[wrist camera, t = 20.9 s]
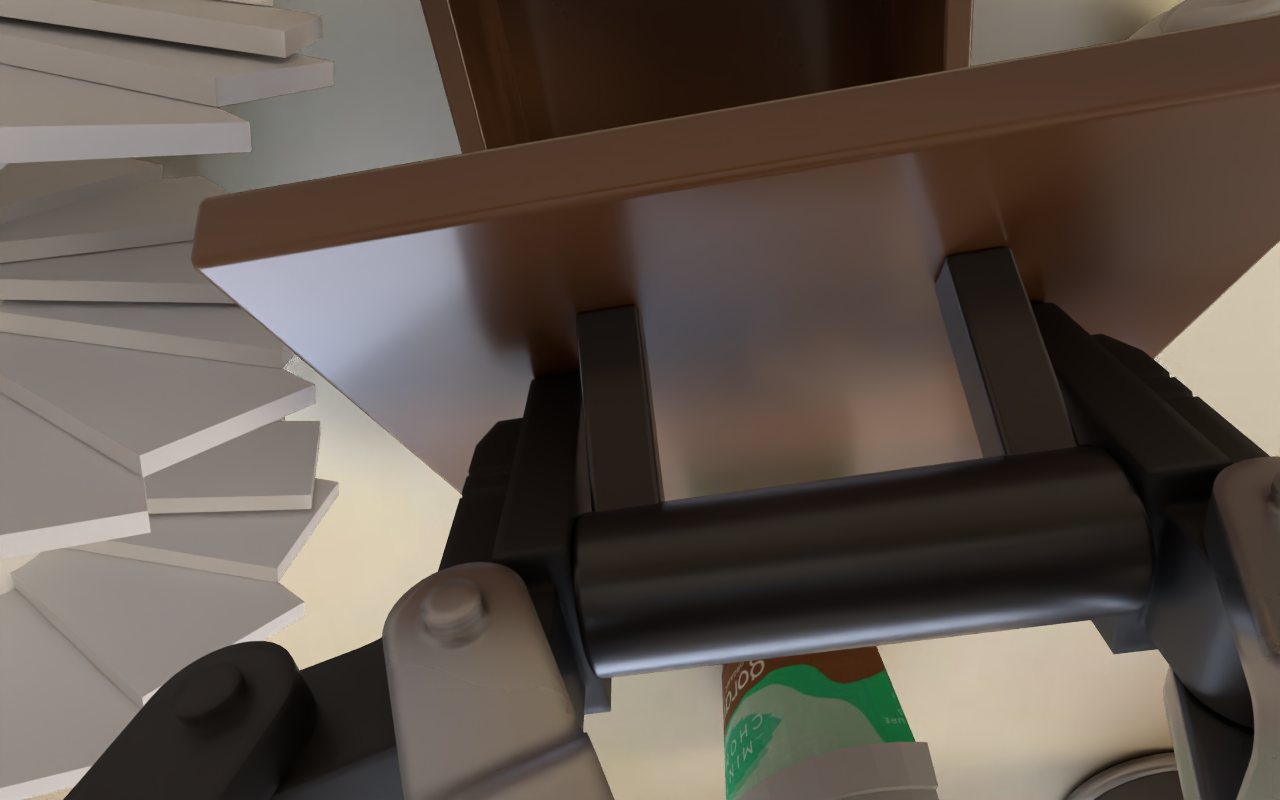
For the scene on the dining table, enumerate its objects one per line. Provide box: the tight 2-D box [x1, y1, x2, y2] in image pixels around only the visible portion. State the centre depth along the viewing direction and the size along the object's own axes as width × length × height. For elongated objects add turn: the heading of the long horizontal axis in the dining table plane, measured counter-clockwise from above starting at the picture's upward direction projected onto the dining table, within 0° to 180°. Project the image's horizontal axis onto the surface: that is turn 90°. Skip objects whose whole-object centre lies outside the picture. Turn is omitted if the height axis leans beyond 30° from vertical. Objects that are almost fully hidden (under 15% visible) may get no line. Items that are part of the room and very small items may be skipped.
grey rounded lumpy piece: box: [1128, 0, 1280, 243], centre depth 21 cm, size 6×7×7 cm
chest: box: [420, 0, 974, 154], centre depth 22 cm, size 17×11×7 cm, turn 9°
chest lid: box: [191, 14, 1280, 678], centre depth 15 cm, size 18×11×5 cm
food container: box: [722, 646, 939, 800], centre depth 32 cm, size 12×6×10 cm, turn 173°
